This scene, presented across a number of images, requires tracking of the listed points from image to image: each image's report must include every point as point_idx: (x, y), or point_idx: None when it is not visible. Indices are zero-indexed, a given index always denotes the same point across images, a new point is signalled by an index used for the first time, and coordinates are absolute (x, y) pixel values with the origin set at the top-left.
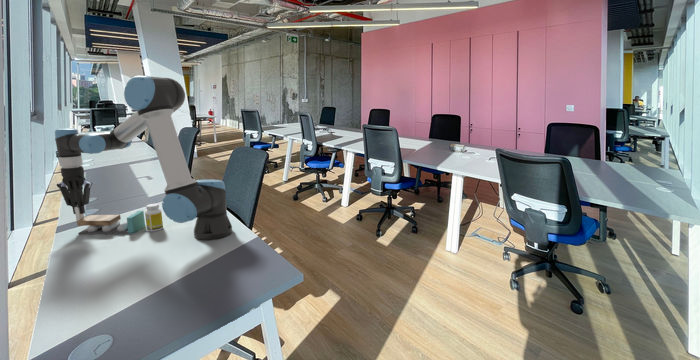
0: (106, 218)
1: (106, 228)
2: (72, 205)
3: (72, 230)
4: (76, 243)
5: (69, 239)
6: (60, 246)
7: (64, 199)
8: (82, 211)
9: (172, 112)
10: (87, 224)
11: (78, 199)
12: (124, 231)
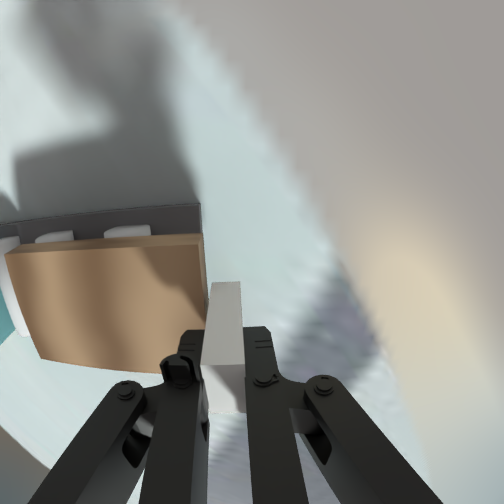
0: (44, 299)
1: (48, 236)
2: (265, 380)
3: (291, 278)
4: (121, 73)
5: (201, 124)
6: (180, 29)
7: (380, 431)
8: (181, 344)
9: None
10: (129, 239)
11: (169, 449)
12: (1, 235)
